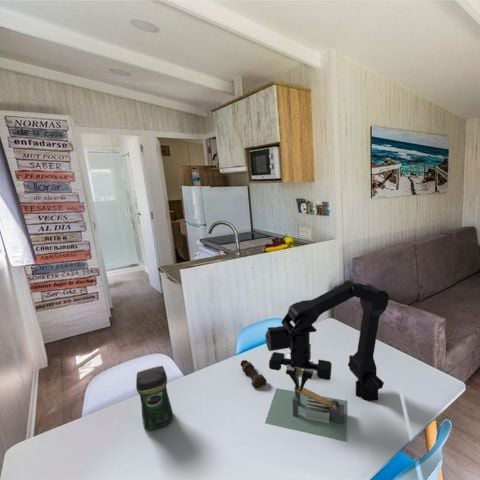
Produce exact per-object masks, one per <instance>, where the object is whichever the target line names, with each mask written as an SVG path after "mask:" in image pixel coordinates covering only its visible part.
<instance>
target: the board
mask: <svg viewBox="0 0 480 480" xmlns="http://www.w3.org/2000/svg"><path fill="white" fill-rule="evenodd" d="M300 396H301V405H300V406H298V417H295V416H293V402H292V399H293V397H295V390H290V389H283V388H280V387H279V388H278V387H276V389H275V392H274V395H273V397H272V401H271V404H270V406H269V410H268V413H267V416H266V418H265V421H264V424H266V425H271V426H277V427H279V428H280V427H281V428H284V429H288V430H293V431H298V432H303V433H307V434H311V435H316V436H319V437H325V438H329V439H334V440H336V441H337V440H338V441H342V442H347V441H348V401H347V400H344V399H341V398H340V399H338V398H334V397H329V396H322V395H321V396H322V397H324V398H326V399H330V401H332V400H337V401H339V404H342V405H344V425H343V424H339V423H335V422H331V410H330V423H329V425H327V424H322V423H317V422H313V421H308V420H306V405H307V402H308V397H307V396H305V395H303V394H301V393H300Z"/></svg>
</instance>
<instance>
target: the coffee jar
mask: <svg viewBox="0 0 480 480" xmlns="http://www.w3.org/2000/svg"><path fill="white" fill-rule="evenodd" d="M135 381H136V385H135V388H136V392H137V394H138V395H139V398H140V405H141V407H140V408H141V420H142V426H143V429H145V431H149V432H150V431H154V430H157V429H161V428H165V426H168V425H170V424H171V422H172V421H173V419H174V414H173V407H172V404H171V401H170V397H169V393H168V390H167V389H168V387H167V384H168V375H167V372H166V370H165V367H164V365H158V366H154V367H149V368H146V369H143V370H140V371H137V372H136V379H135Z"/></svg>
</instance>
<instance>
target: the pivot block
mask: <svg viewBox="0 0 480 480" xmlns="http://www.w3.org/2000/svg"><path fill="white" fill-rule="evenodd" d="M332 402H336V403H337V409H334V408H331V422H335V423H339V424H343V425H344V405H342V404H339V401H337V400H332Z"/></svg>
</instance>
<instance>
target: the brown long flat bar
mask: <svg viewBox="0 0 480 480" xmlns="http://www.w3.org/2000/svg"><path fill="white" fill-rule="evenodd" d="M293 391H297V392H299V393H301V394H303V395H305V396H307V397H309V398H311V399H313V400H315V401H317V402H319V403H321V404H323V405H325V406H327V407H329V408H334V409H337V403H336V402H332V401H330V400H328V399H326V398H324V397H325V396H323V397H322V395H321V394H318V393H316V392H313V391H312V390H309V389H307V388H306V387H303V389H302V390H301V384H299V389H297V387H296V385H295V384H294V388H293Z"/></svg>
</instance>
